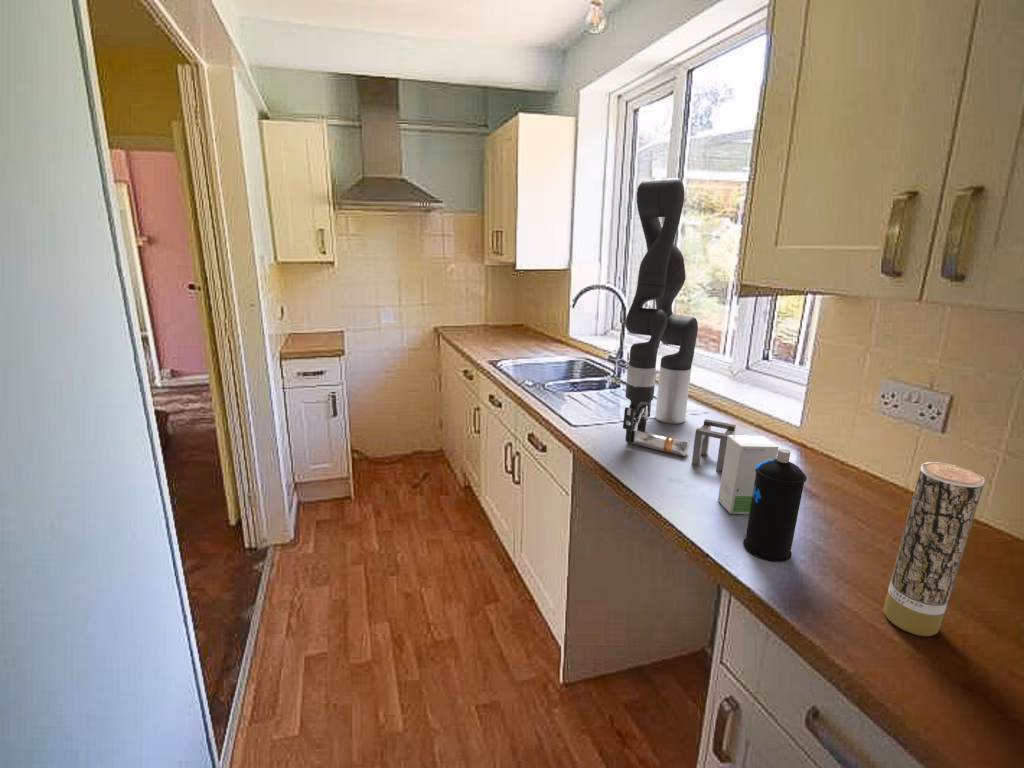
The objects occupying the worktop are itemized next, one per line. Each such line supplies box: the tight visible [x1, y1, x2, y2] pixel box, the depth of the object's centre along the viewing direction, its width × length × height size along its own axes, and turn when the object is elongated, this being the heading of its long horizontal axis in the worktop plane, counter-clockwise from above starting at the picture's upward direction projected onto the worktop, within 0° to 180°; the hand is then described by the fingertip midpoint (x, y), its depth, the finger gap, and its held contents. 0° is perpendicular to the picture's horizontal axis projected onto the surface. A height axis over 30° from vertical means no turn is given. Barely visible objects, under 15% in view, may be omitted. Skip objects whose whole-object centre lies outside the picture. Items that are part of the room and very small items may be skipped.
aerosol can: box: [742, 448, 807, 563], centre depth 92 cm, size 8×8×20 cm
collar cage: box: [691, 418, 737, 473], centre depth 130 cm, size 10×8×10 cm
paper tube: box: [883, 461, 985, 637], centre depth 74 cm, size 7×7×25 cm
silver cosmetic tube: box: [626, 429, 690, 457], centre depth 138 cm, size 16×4×4 cm, turn 56°
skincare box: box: [717, 434, 779, 515], centre depth 107 cm, size 8×7×16 cm
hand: (635, 437), depth 142 cm, fingers open, 8 cm apart
